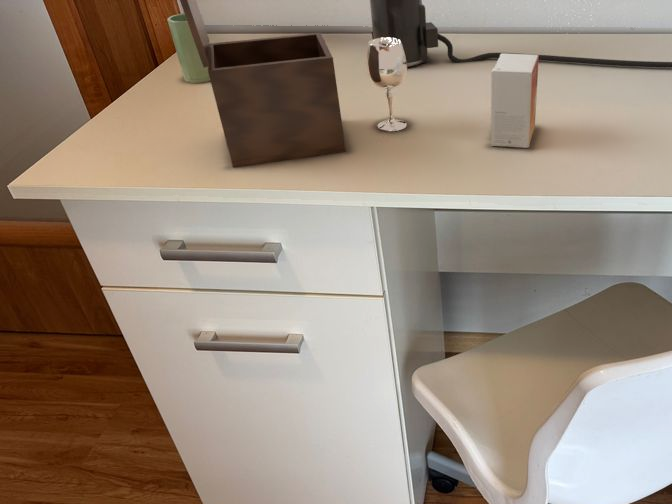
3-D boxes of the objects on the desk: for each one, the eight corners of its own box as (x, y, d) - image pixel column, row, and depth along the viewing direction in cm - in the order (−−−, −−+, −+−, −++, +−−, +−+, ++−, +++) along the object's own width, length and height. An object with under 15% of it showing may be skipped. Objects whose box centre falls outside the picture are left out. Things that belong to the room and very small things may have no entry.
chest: (333, 120, 104) (320, 32, 96) (346, 151, 95) (332, 57, 87) (230, 133, 101) (207, 43, 92) (232, 167, 92) (207, 71, 83)
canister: (216, 71, 123) (201, 11, 116) (217, 80, 119) (201, 19, 112) (184, 74, 122) (168, 14, 115) (184, 84, 117) (166, 23, 111)
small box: (528, 149, 95) (532, 72, 88) (489, 146, 95) (490, 70, 89) (536, 127, 100) (539, 53, 94) (499, 125, 101) (500, 52, 95)
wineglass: (373, 119, 104) (364, 37, 96) (410, 117, 104) (404, 35, 96) (372, 134, 100) (363, 49, 92) (411, 132, 100) (405, 47, 92)
